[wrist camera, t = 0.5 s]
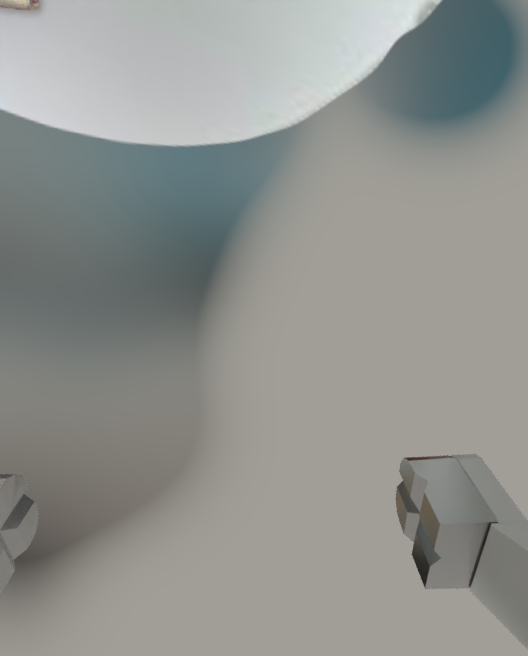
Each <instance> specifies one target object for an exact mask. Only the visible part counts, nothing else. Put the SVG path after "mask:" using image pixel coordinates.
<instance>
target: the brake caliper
mask: <svg viewBox="0 0 528 656" xmlns="http://www.w3.org/2000/svg"><path fill="white" fill-rule="evenodd" d="M0 7H6V8H14V9H18V10H31V9H33V8H37V7H39V3H38V1H37V0H0Z"/></svg>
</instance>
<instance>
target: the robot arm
mask: <svg viewBox="0 0 528 656" xmlns="http://www.w3.org/2000/svg"><path fill="white" fill-rule="evenodd" d="M399 471H400V474H401V476H402V478H403V481H402V482H401V483H400V484H399V485H398V486H397V491H396V507H397V513H398V517H399V521H400V524H401V527H402V530H403V533H404V534H405V535H406V536H407V537H409V538H410V539H411V540H412V541H413V542H414V545H413V551H412V556H413V559H414V561H415V564H416V566H417V569H418V572H419V574H420V576H421V579H422V582H423V584H424V587H425V589H430V588H432V589H433V588H470V591H471V592H472V593H473V595H475V597H476V598H478V599H479V601H480V602H482V604H483V605H484V606H485V607H486V608H487V609H488V610H489V611H490V612H491V613H492V614H493V615H494V616H495V617H496V618H497V619H498V620H499V621H500V622H501V623H502V624H503V625H504V626H505V627H506V628H507V629H508V630H509V631H510V632H511V633H512V634H513V635H514V636H515V637H516V638H517V639H518V640H519V641H520V642H521V643H522V644H523V645H524V646H525V647H526V648H527V649H528V520H527V519H526V518H525V516H524V515H523V514H522V512H521V511H520V510H519V508H518V507H517V506H516V504H515V503H514V501H513V500H512V499H511V497H510V496H509V495H508V493H507V492H506V491H505V489H504V488H503V487H502V485H501V484H500V483H499V481H498V480H497V479H496V477H495V476H494V474H493V473H492V472H491V470H490V469H489V468H488V466H487V465H486V464H485V462H484V461H483V460H482V458H481V457H479V456H478V455H476V454H468V455H451V456H448V455H447V456H428V457H408V458H403V460H402V462H401V464H400V470H399ZM27 488H28V486H27V483H26V481H25V479H24V477H23V476H22V475H18V474H0V594H1V593H2V591H3V589H4V588H5V586H6V584H7V582H8V581H9V579H10V577H11V576H12V574H13V572H14V571H15V568H14V559H15V558H16V557H17V556H19V555H20V554H21V553H22V552H24V551H25V550H26V549H27V548H28V546H29V545H30V543H31V541H32V539H33V537H34V536H35V532H36V528H37V524H38V520H39V519H38V509H37V506H36V504H35V501H33V500H32V499H31V498H29V497H28V496H26V495H25V492H26V490H27Z"/></svg>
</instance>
